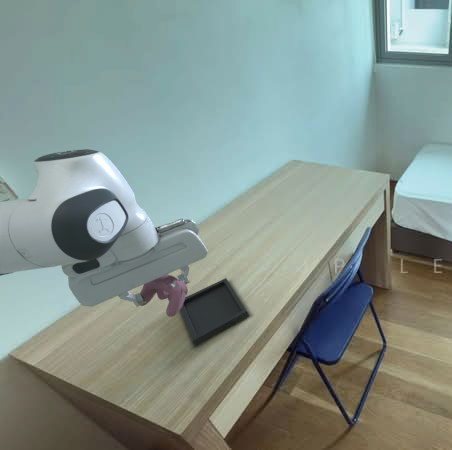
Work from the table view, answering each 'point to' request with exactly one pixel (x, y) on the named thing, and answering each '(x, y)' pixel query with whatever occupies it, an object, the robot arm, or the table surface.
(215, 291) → the black rectangular tray
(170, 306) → the video game controller
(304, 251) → the table surface
